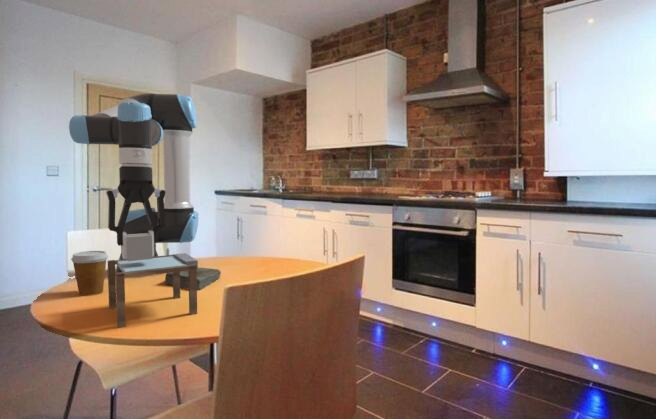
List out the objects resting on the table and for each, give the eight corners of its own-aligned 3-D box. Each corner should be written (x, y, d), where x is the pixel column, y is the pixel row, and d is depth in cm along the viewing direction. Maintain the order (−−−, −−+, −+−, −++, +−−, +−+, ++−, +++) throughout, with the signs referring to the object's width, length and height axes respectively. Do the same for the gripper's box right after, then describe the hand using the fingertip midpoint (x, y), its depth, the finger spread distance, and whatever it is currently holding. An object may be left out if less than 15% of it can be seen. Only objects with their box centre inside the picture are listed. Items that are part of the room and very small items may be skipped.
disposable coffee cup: (76, 290, 124) (74, 251, 123) (111, 287, 127) (109, 249, 127) (69, 298, 115) (67, 257, 114) (106, 295, 119) (105, 255, 118)
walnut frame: (109, 306, 108) (107, 260, 107) (178, 296, 118) (178, 253, 118) (118, 327, 93) (116, 274, 92) (197, 313, 104) (196, 265, 103)
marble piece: (200, 291, 125) (199, 278, 125) (157, 288, 128) (157, 275, 128) (224, 278, 141) (224, 266, 141) (186, 276, 144) (186, 264, 144)
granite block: (124, 257, 104) (124, 234, 103) (148, 255, 107) (147, 233, 106) (128, 261, 99) (127, 237, 99) (152, 258, 102) (151, 235, 102)
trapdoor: (117, 267, 107) (117, 258, 107) (183, 260, 117) (183, 252, 117) (125, 279, 95) (125, 269, 95) (199, 270, 105) (199, 261, 104)
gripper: (94, 164, 93) (98, 263, 95) (178, 166, 103) (179, 255, 105) (91, 165, 99) (95, 258, 101) (170, 167, 110) (172, 251, 111)
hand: (138, 256), depth 103 cm, fingers closed on granite block, 6 cm apart
